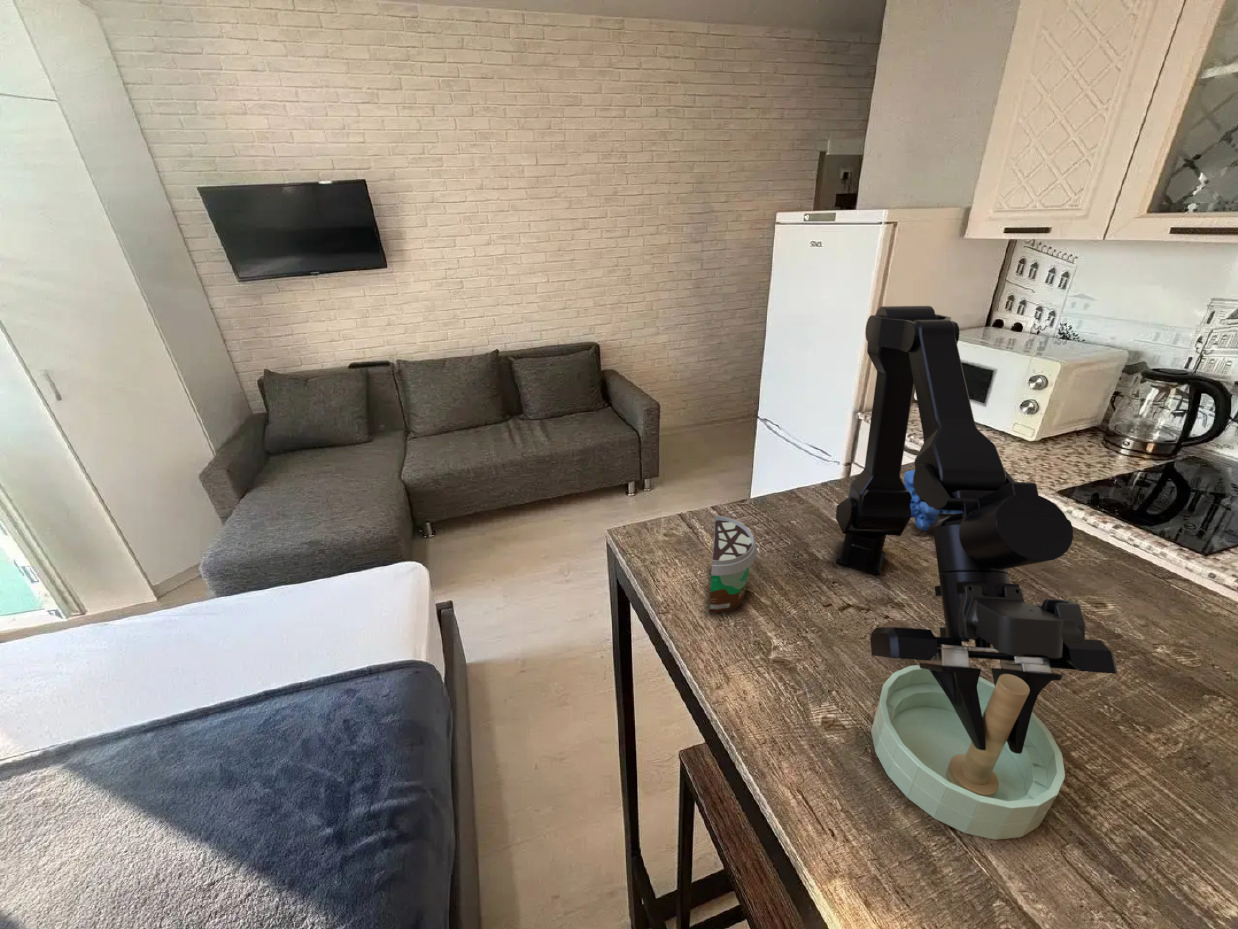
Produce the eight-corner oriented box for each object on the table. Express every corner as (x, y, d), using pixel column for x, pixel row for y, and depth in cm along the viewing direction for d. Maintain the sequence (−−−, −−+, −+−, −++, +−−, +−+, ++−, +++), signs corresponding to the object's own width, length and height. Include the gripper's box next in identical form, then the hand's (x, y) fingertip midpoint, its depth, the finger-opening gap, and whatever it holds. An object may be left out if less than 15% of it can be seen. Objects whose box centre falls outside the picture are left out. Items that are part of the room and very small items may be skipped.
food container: (753, 625, 71) (759, 567, 66) (708, 620, 72) (711, 563, 67) (751, 569, 81) (756, 516, 77) (712, 565, 83) (715, 513, 78)
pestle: (947, 756, 53) (986, 658, 46) (993, 776, 51) (1041, 677, 44) (945, 790, 50) (986, 691, 43) (994, 812, 48) (1045, 712, 41)
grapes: (881, 530, 89) (895, 470, 84) (891, 513, 94) (905, 455, 89) (958, 554, 83) (979, 490, 77) (965, 535, 87) (985, 473, 82)
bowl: (881, 678, 62) (891, 645, 60) (1037, 737, 55) (1055, 702, 52) (859, 786, 51) (869, 751, 48) (1051, 880, 43) (1075, 844, 41)
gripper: (906, 559, 44) (928, 762, 39) (1148, 570, 42) (1203, 788, 37) (863, 573, 55) (876, 735, 50) (1054, 583, 52) (1087, 754, 47)
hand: (998, 751), depth 46 cm, fingers open, 3 cm apart
